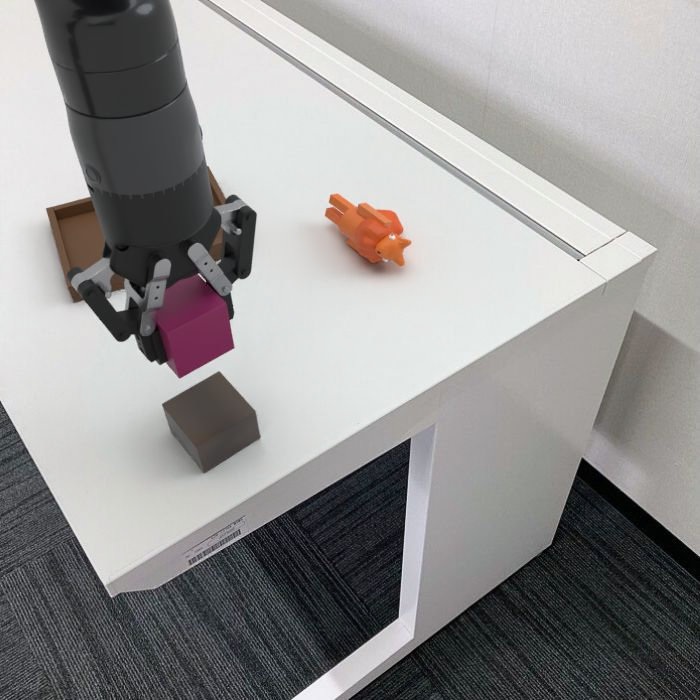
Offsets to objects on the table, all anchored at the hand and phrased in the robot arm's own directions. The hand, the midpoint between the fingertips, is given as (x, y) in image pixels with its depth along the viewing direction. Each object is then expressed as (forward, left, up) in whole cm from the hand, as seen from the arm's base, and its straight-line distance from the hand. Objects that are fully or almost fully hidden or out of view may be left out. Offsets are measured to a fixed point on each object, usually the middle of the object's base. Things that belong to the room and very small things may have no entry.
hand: (189, 339), depth 60 cm
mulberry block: (0, 0, -1) cm, 1 cm away
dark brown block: (0, 0, -13) cm, 13 cm away
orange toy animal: (+24, +18, -13) cm, 33 cm away
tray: (+1, +30, -13) cm, 33 cm away
